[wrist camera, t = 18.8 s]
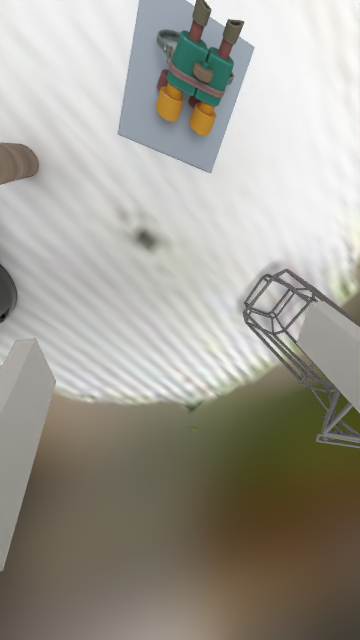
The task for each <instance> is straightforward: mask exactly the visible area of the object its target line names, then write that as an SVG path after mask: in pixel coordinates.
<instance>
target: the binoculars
mask: <svg viewBox="0 0 360 640" xmlns="http://www.w3.org/2000/svg"><path fill="white" fill-rule="evenodd" d="M210 13H211V8H210V7H209V6H208V5H207V3H206V2H205V1H204V0H196V4H195V7H194V11H193V15H192V18H193V21H192V25H191V29H190V32H188V31H185V30H183V31H182V32H181V33H180V32H177V31H174V30H169V29H163V30H160V31H159V32H158V35H157V40H156V43H157V45H158V46H159V47H160V48H161V49H162V50H163V52H164V53H165V54H166V57H167V64H168V65H169V70H166V69H163V70H162V72H161V75H160V78H159V81H158V84H157V89H158V91H159V92H160V93H159V96H158V99H157V103H156V109H157V112H158V113H159V114H160V116H161V117H163V118H164V119H166V120H168V121H177V120H178V119H179V116H180V112H181V109H182V105H183V101H184V98H183V97H182V93H183V92H185V93H187V94H188V95H190V98H189V100H188V103H189V105H190V106H191V107H192V108H193V112H192V114H191V116H190V119H189V123H190V126H191V127H192V129H193V130H194V131H195V132H196V133H198V134H200V135H203V136H206V135H208V134H209V133H210V131H211V129H212V126H213V124H214V121H215V118H216V113H215V112H214V111H213V110H214V108H215V106H218V105H219V103H220V101H221V98H222V97H223V95H224V93H225V88H226V86H227V85H230V84H231V83H232V81H233V78H234V74H233V72H232V69H233V67H234V61H233V60H232V58H231V57H230V56H229V55H230V52H231V50H232V47H233V45H235V44H236V42H237V39H238V37H239V34H240V32H241V29H242V27H243V25H244V21H241V20H230V19H228V21H227V23H226V26H225V29H224V32H223V34H222V35H223V39H222V42H221V45H220V47H219V49H217V48H215V47H210V48H207V45H206V43H205V42H204V41H203V40H201V36H202V33H203V30H204V26H205V27H206V26H207V23H208V20H209V16H210ZM163 38H170V39H174V40H177V41H178V42H177V45H176V49H175V52H174V48H173V46H172V45H171V46H169V45H168V44H167V43H166V42H165V41H164V40H163ZM172 51H173V54H172ZM171 54H172V55H171ZM169 58H170V63H169V62H168V60H169Z"/></svg>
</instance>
